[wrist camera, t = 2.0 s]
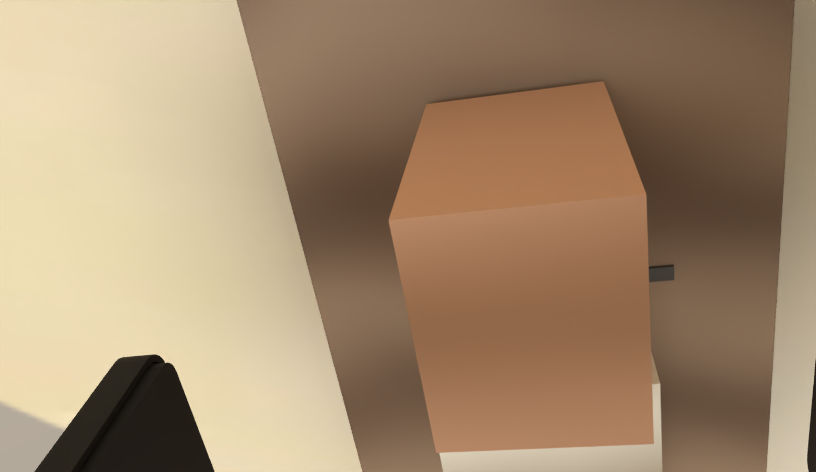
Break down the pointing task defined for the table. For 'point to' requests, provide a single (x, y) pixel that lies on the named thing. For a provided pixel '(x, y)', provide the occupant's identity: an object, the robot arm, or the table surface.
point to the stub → (527, 272)
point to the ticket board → (651, 151)
